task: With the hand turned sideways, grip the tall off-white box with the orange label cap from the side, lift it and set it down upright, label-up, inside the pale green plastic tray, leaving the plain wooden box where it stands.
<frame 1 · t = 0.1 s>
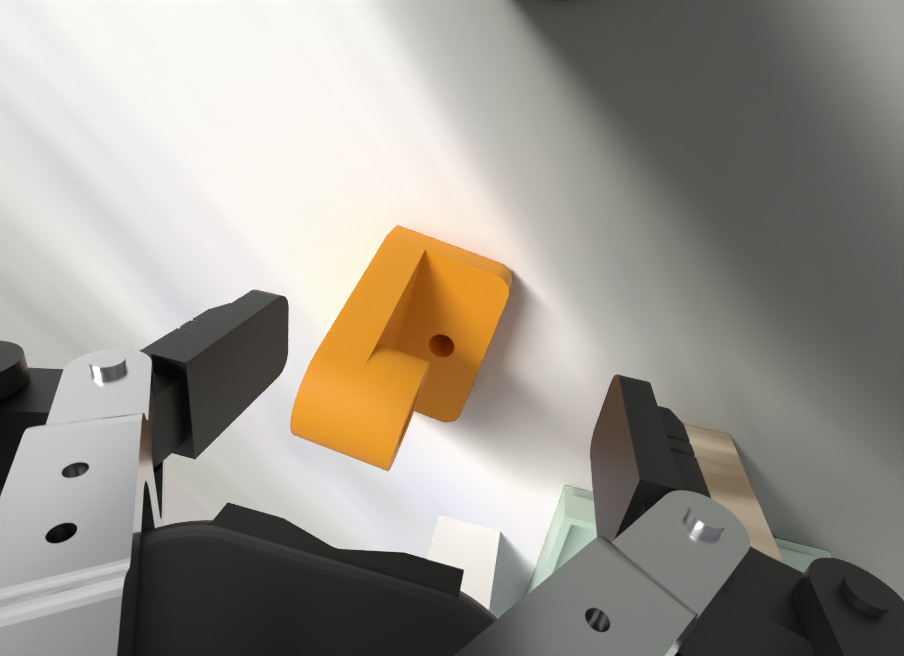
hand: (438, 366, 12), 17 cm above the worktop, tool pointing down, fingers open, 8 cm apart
bracket: (435, 317, 32), on the worktop
plain box: (674, 454, 33), on the worktop
tray: (650, 593, 39), on the worktop
labelled box: (464, 543, 41), on the worktop
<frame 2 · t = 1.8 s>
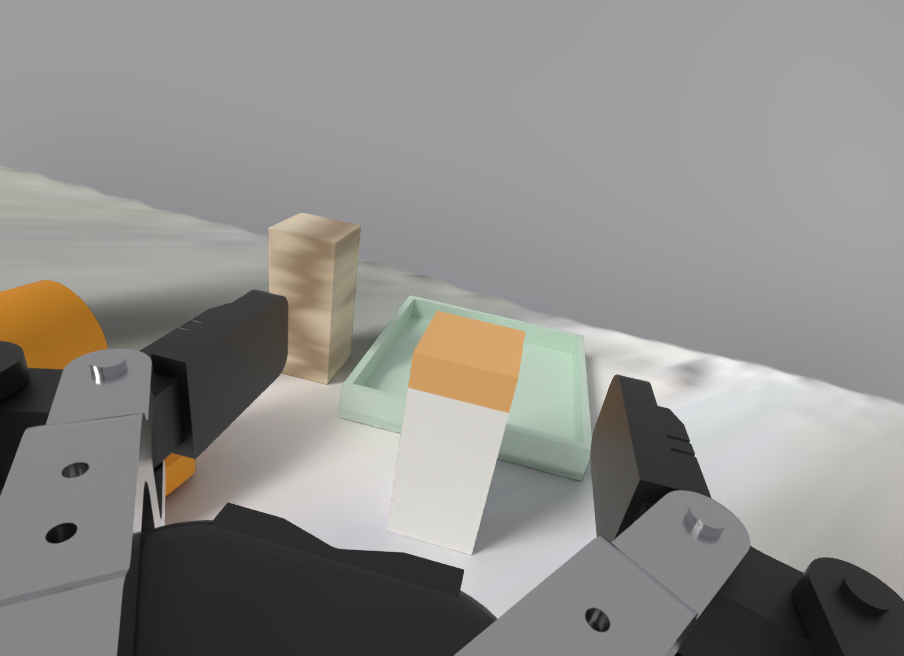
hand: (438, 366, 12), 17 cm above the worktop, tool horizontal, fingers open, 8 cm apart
bracket: (80, 484, 29), on the worktop
plain box: (311, 362, 43), on the worktop
tray: (476, 383, 44), on the worktop
labelled box: (438, 510, 31), on the worktop
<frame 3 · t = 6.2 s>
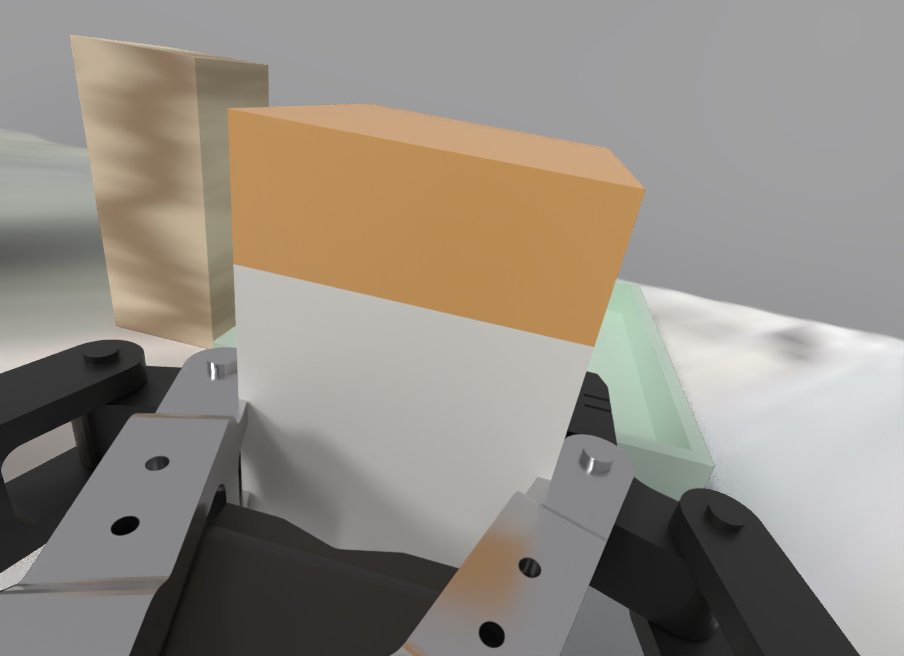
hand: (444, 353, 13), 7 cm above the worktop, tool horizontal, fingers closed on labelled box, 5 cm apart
plain box: (198, 316, 26), on the worktop
tray: (475, 352, 27), on the worktop
labelled box: (388, 609, 13), on the worktop, touching gripper
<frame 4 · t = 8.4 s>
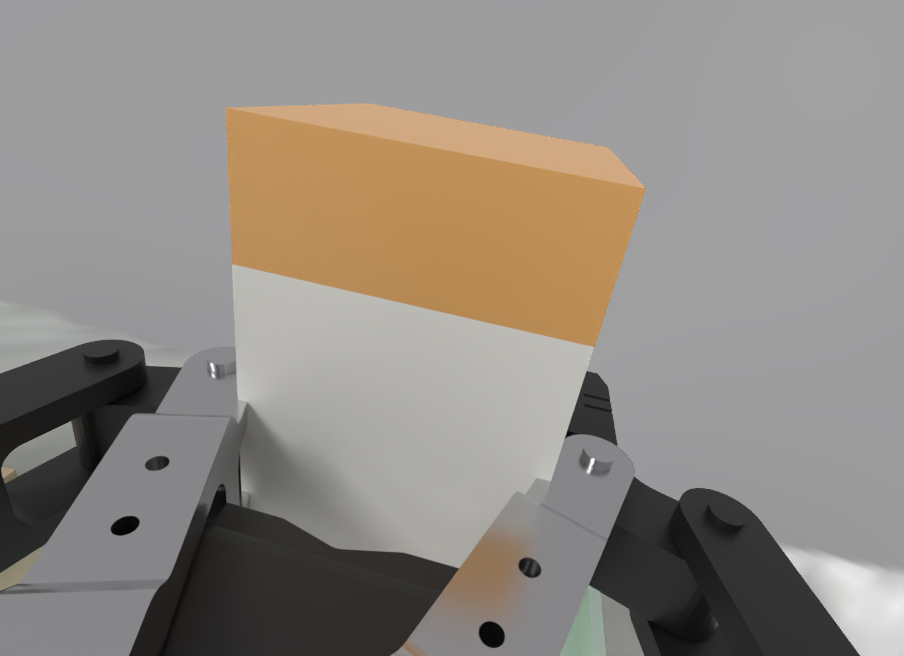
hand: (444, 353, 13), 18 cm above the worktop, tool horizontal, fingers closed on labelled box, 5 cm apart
labelled box: (388, 610, 13), point 11 cm above the worktop, touching gripper
when the fingers open (9 cm above the worktop, at t = 10.7 s): labelled box drops 1 cm, resting on tray.
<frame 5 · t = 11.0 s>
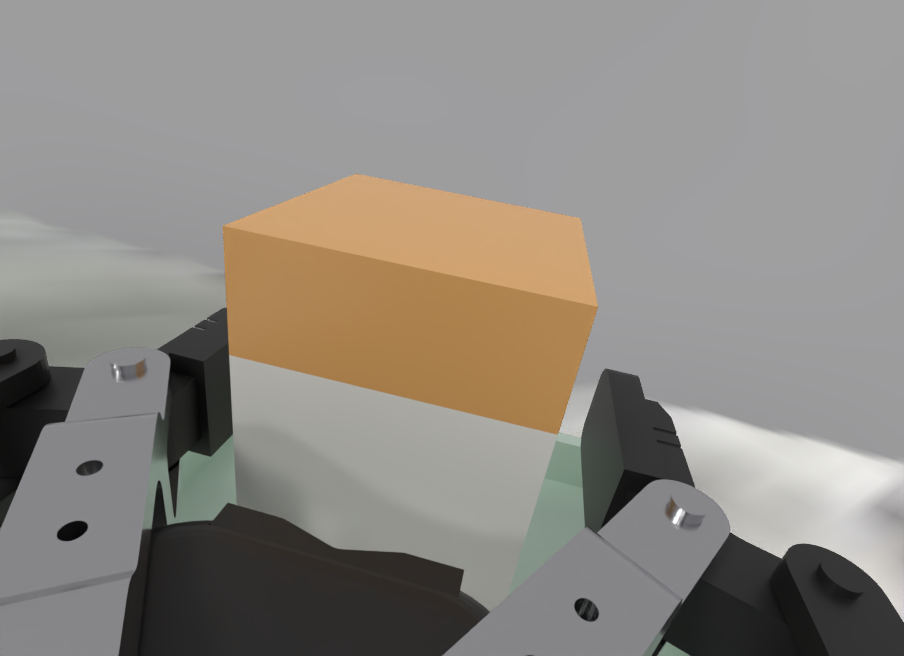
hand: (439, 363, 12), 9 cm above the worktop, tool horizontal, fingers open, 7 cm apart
labelled box: (379, 642, 14), point 1 cm above the worktop, touching tray
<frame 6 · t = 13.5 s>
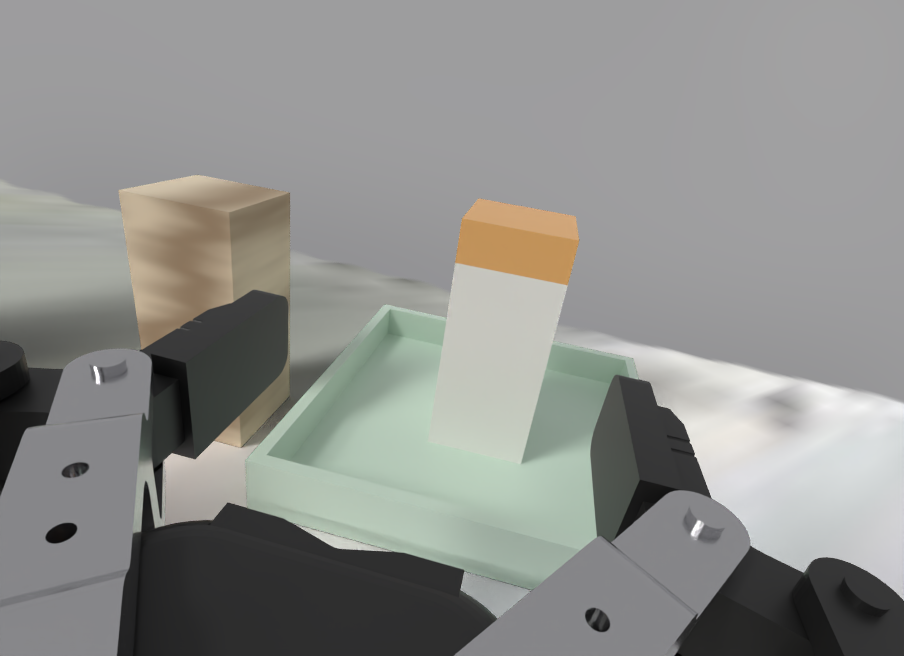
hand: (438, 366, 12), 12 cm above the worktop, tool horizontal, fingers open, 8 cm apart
plain box: (225, 409, 28), on the worktop
tray: (479, 437, 29), on the worktop
labelled box: (480, 425, 28), point 1 cm above the worktop, touching tray
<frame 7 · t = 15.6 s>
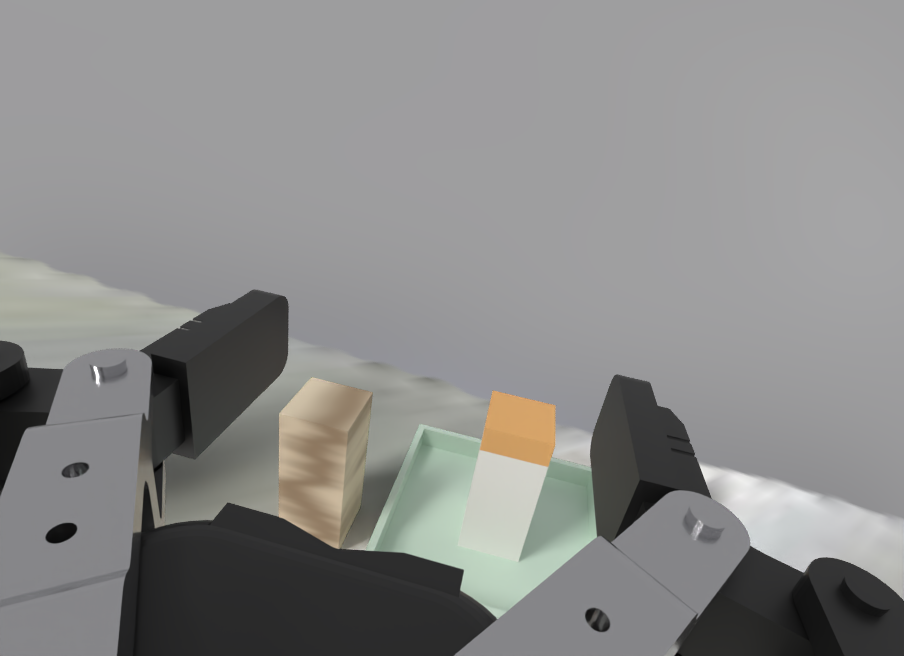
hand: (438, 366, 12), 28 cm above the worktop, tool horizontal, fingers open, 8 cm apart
plain box: (321, 520, 42), on the worktop
tray: (490, 536, 43), on the worktop
labelled box: (491, 529, 42), point 1 cm above the worktop, touching tray
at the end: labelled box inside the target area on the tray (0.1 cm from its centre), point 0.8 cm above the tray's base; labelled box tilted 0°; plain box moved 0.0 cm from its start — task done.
